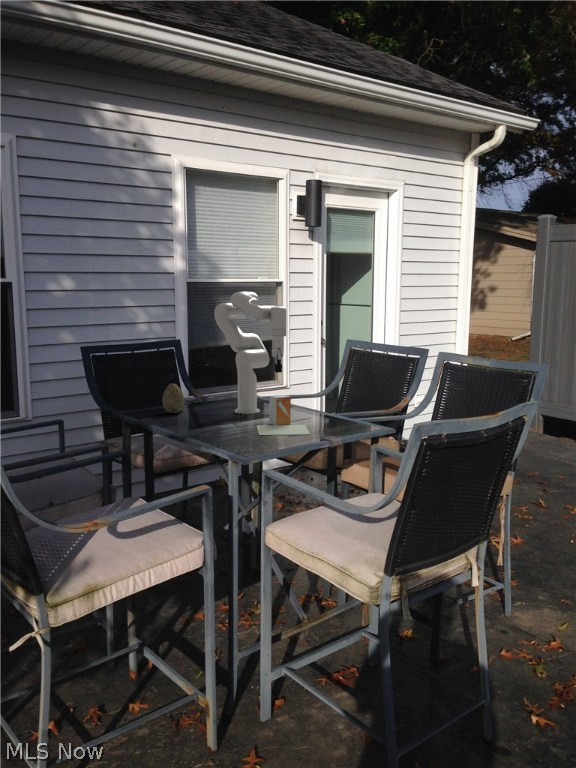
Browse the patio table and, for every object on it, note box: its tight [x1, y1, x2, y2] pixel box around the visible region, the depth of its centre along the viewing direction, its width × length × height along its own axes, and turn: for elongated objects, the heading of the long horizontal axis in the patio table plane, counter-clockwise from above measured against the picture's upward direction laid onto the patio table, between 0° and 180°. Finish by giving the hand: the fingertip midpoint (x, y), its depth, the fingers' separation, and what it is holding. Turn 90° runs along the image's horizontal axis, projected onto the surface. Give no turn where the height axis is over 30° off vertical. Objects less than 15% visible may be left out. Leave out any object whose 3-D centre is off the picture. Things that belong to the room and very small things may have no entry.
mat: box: [256, 424, 311, 436], centre depth 299 cm, size 20×22×1 cm
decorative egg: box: [161, 383, 185, 414], centre depth 339 cm, size 11×11×15 cm
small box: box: [268, 394, 292, 425], centre depth 313 cm, size 8×6×13 cm
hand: (278, 371), depth 320 cm, fingers open, 2 cm apart
